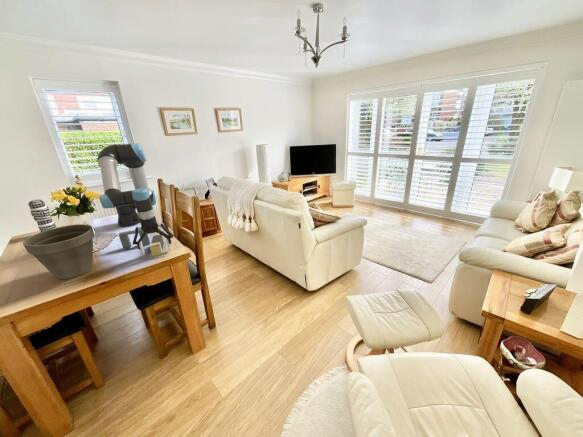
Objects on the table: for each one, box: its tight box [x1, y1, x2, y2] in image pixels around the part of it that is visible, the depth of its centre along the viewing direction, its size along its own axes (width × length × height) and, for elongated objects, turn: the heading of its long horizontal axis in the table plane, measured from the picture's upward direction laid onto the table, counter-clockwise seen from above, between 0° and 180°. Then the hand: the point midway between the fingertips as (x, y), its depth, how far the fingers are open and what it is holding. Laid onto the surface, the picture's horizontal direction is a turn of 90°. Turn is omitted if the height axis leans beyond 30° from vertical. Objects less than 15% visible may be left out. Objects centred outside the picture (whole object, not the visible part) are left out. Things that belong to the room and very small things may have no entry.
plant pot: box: [22, 223, 95, 280], centre depth 119 cm, size 25×25×22 cm
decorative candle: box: [27, 199, 57, 233], centre depth 163 cm, size 9×9×25 cm
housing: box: [118, 229, 151, 250], centre depth 145 cm, size 3×14×10 cm, turn 112°
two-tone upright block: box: [149, 234, 165, 257], centre depth 140 cm, size 16×4×6 cm, turn 22°
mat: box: [148, 242, 168, 261], centre depth 141 cm, size 18×8×1 cm, turn 22°
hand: (156, 251), depth 137 cm, fingers open, 13 cm apart
